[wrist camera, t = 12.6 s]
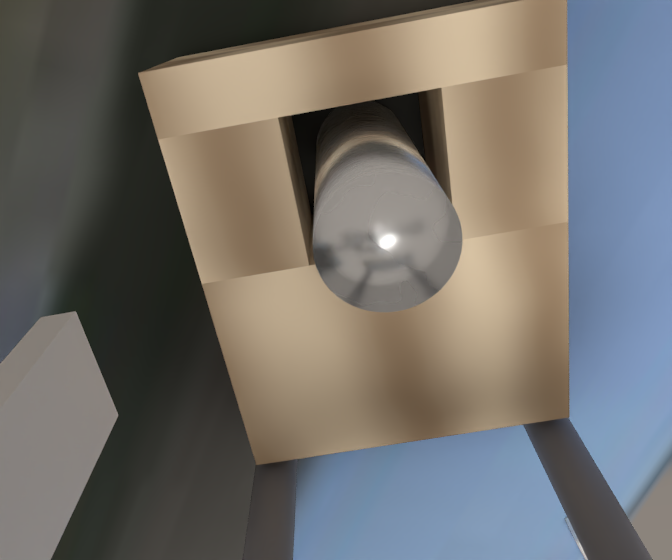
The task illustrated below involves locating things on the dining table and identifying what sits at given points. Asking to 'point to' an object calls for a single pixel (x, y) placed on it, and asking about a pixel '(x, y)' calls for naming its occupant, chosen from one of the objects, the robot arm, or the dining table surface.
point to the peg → (379, 213)
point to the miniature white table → (556, 457)
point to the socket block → (297, 221)
